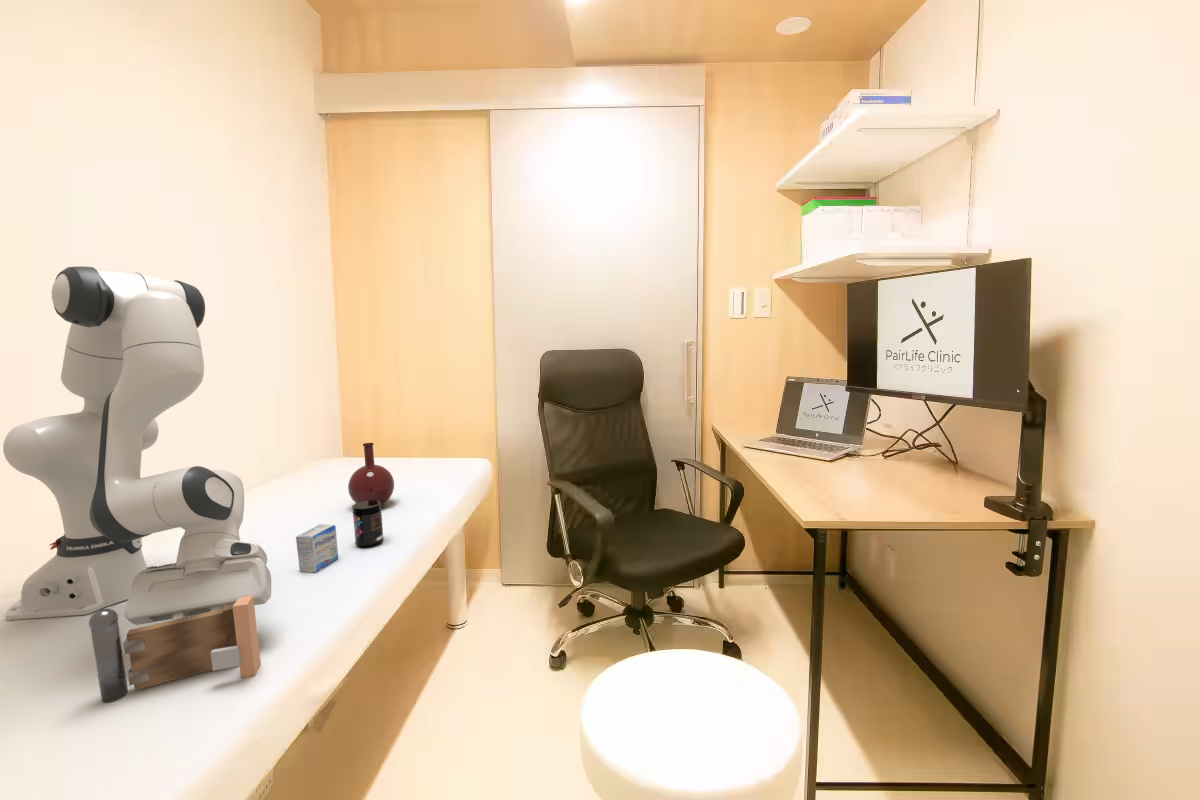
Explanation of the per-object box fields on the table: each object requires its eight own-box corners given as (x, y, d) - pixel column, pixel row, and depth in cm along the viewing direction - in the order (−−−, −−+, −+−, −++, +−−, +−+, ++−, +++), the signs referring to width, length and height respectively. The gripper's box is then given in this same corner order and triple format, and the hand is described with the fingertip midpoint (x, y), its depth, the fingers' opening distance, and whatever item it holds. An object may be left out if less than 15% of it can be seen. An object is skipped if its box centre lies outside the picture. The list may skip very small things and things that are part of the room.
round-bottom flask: (359, 501, 175) (354, 440, 173) (400, 499, 176) (396, 438, 174) (343, 514, 162) (337, 449, 160) (388, 512, 163) (383, 447, 161)
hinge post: (96, 705, 80) (82, 617, 78) (108, 691, 83) (95, 606, 81) (122, 700, 81) (109, 613, 79) (133, 686, 84) (121, 603, 82)
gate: (130, 691, 82) (121, 633, 81) (133, 684, 84) (125, 627, 83) (239, 662, 89) (233, 608, 88) (240, 656, 91) (234, 603, 90)
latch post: (214, 685, 84) (205, 612, 82) (223, 671, 88) (214, 601, 86) (253, 678, 86) (245, 606, 84) (260, 664, 89) (253, 595, 88)
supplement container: (364, 538, 143) (361, 500, 142) (388, 538, 143) (385, 500, 141) (350, 548, 137) (346, 508, 135) (375, 549, 136) (372, 509, 135)
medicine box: (315, 573, 123) (312, 536, 122) (298, 572, 124) (295, 535, 123) (339, 558, 131) (336, 524, 129) (322, 557, 131) (319, 523, 130)
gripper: (127, 562, 90) (106, 649, 82) (268, 542, 96) (260, 622, 89) (144, 575, 95) (125, 659, 87) (277, 556, 101) (270, 632, 94)
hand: (195, 640), depth 88 cm, fingers closed
